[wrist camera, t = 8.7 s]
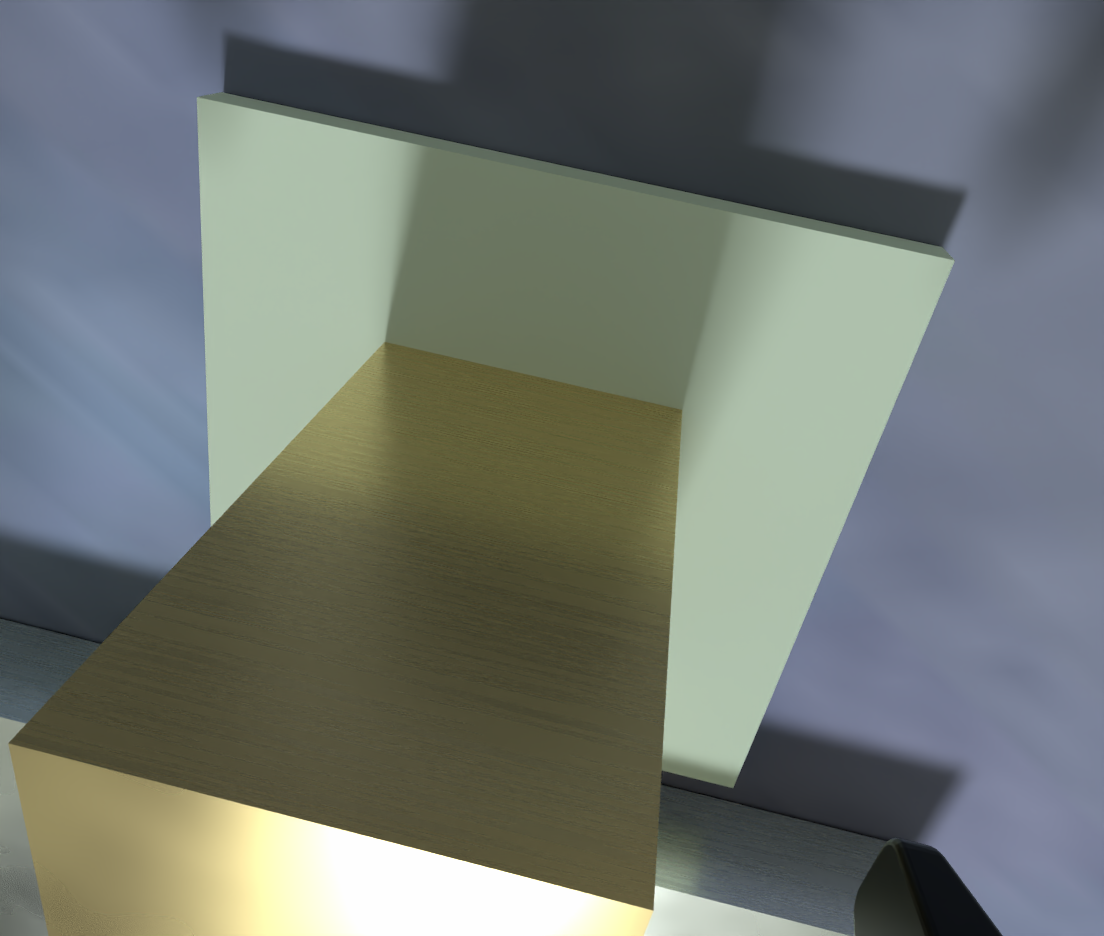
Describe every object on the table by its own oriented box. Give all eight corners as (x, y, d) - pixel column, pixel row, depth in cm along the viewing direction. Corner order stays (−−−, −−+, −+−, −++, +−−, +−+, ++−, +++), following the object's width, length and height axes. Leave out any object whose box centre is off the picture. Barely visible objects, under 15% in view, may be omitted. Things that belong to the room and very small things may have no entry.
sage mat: (232, 636, 15) (215, 658, 15) (222, 92, 11) (197, 96, 10) (731, 760, 15) (733, 788, 14) (941, 247, 10) (954, 260, 10)
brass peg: (365, 580, 13) (76, 1071, 7) (384, 341, 11) (7, 743, 5) (616, 641, 13) (539, 1199, 7) (682, 410, 11) (653, 910, 5)
